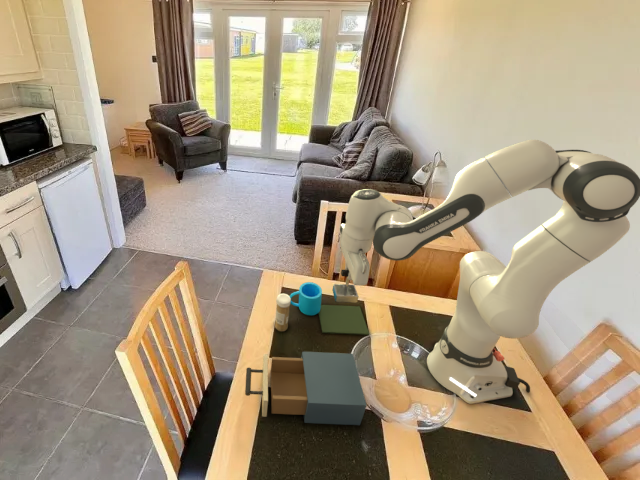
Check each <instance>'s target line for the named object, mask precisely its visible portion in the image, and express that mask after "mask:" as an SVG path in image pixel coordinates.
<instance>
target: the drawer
mask: <svg viewBox="0 0 640 480" xmlns="http://www.w3.org/2000/svg"><path fill="white" fill-rule="evenodd" d="M268 355H269V354H268V353H263V356H262V366H261V367H262V369H256V368H255V369H254V368H252V367H246V371H245V388H244V389H245V390H244V391H245V392H244V395H245V396H247V397H249V396H251V395H259V396H261V398H262V399H261V417H264V418H266V417H268V405H269V367H268V365H269V364H268V363H269V361H268ZM252 373H258V374H261V386H262V387H261V390H252ZM270 399H271V401H270V402H271V405H270V406H271V408H270V409H271V414H273V415H274V414H276V415H294V416H295V415H297V416H304V415H305V413H306V408H307V402H308V400H307V392H306V383H305V375H304V366H303V358H301V357H279V356H272V357H271V364H270Z"/></svg>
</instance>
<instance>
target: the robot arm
mask: <svg viewBox="0 0 640 480" xmlns="http://www.w3.org/2000/svg"><path fill="white" fill-rule="evenodd" d="M537 189H548V190H550V191H551V193H552V194H554V195H555V196H556V197H557V198H559V200H562V205H561V207H560V209H559V210H558V211H557V212H556V213H555V215H553V216H552V217H550V218H548V219H547V220H546V221H544V222H543V223H541V225H539V226H537V227H536V228H535V229H533V230H532V231H530V232H529V233H528V234H526V235H525V236H524V237H523V238H521V239H519V241H517V242H516V243H515V244H514V245H513V246H512V249H511V255H510V259H509V262H508V264H507V265H505V264H504V263H503V262H502V261H501V260H500V259H499V258H498V257H496V256H495V255H493V254H492V253H490V252H488V251H485V250H475V251H471V252H469V253H467V254H465V255H464V256H463V257H462V258H461V259H460V261H459V284H458V288H457V289H458V290H457V296H456V305H455V309H454V313H453V315H452V317H451V320H450V321H449V324H448V325H447V326H446V327H445V329H444V330H443V333H442V335H441V338H440V339H439V341H438V342H436V343H435V344H434V345H433V346H434V347H433V350H432V351H430V353H429V354H428V355H427V358H426V365H427V368H428V370H429V373H430V374H431V375H432V377H433V378H434V379H435V380H436V381H437V382H438V383H439V384H440V385H441V386H442V387H444V388H445V389H446V390H448V391H450V392H452V393H454V394H455V395H457V396H458V397H459V398H460V399H462V401H464V402H465V403H467V404H468V405H469V404H470V405H472V404H473V405H474V404H479V403H484V402H490V401H495V400H499V399H505V398H511V397H512V396H513V393H514V391H513V390H517V388H519V386H520V384H522V385H524V386H525V391H526V393H528V394H530V393H531V386H530V384H529V383H528V382H527V381H525V380H524V379H522V378H520V377H518V374H517V372H516V370H515V368H514V367H510V366H508V365H504V364H503V361H504V360H505V357H504V355H502V353H501V351H499V350H496V348H495V347H496V345H497V343H498V341H499V340H500V338H501V337H502V338H505V339H511V340H518V339H519V340H520V339H524V338H527V337H529V336H531V335H533V334H534V333H535V332H536V331H537V329H538V327H539V324H540V314H541V310H542V308H543V306H544V304H545V302H546V300H547V298H548V297H549V295H551V293H552V291H553V290H554V289H555V288H556V287H557V286H558V285H559V284H560V283H561V282H562V281H564V280H565V279H567V278H568V277H570V276H572V275H573V274H575V273H576V272H577V271H578V270H581V268H583V267H585V266H586V265H588V264H590V263H592V262H593V261H594V260H596V259H598V258H599V257H601V256H602V255H604V254H605V253H606V252H607V251H609V250H610V249H611V248H612V247H613V246H615V245H616V244H617V243H618V242H619V241H620V240H622V238H623V237H625V235H627V233H629V231H630V228H631V224H630V221H629V219H628V217H627V215H628V214H629V213H630V210H631V208H632V207H634V205H635V204H636V203H638V201H639V199H640V177H639V175H638V174H637V172H635V171H634V170H633V169H632V168H631V167H629V166H628V165H626V164H624V163H621V162H619V161H617V160H615V159H613V158H611V157H609V156H607V155H603V154H599V153H593V152H591V151H588V150H583V149H562V150H555V149H554V148H553V147H552V146H551V145H549V144H548V143H547V142H545V141H542V140H539V139H526V140H523V141H520V142H517V143H515V144H510V145H508V146H506V147H503V148H501V149H498V150H495V151H494V152H491V153H489V154H487V155H485V156H484V157H481V158H478V159H476V160H475V161H473V162H471V163H470V164H468V165H466V166H464V168H462V169H461V170H460V171H458V172H457V174H456V175H455V177H454V180H453V182H452V186H451V188H450V191H449V193H448V195H447V197H446V198H445V200H444V201H443V202H442V203H441V204H439V205H437V207H435V208H433V209H431V210H430V211H427V212H426V213H424V214H422V215H420V216H419V217H417V218H414V217H413V213H412V212H411V211H410V209H409V208H408V207H406V206H404V205H403V204H400V203H396V202H393V201H392V200H389V199H388V198H386V197H385V196H383V194H382V193H381V192H380V191H378V190H376V189H372V188H363V189H359V190H356V191H355V192H353V194H352V195H351V196H350V198H349V201H348V204H347V208H346V213H345V223H341V224H340V225H339V232H340V233H339V247H340V250H341V253H342V256H343V258H344V262H345V264H344V265H345V268H344V270H349V273H348V275H347V276H346V278H347V277H348V280H349V281H352V284H353V285H355V286H359V287H361V286H362V287H363V286H364V287H365V286H367V285H368V283H369V282H368V281H369V277H370V270H371V268H370V267H371V266H370V261H369V259H368V257H367V255H366V253H369V252H370V251H371V249H372V247H373V249H374V250H375V252H376V253H377V254H378V255H379V256H381V257H383V258H384V259H386V260H389V261H395V262H400V261H405V260H408V259H410V258H412V257H413V256H414V255H415V254H416V253H417V252H418V251H419V250H420V249H422V247H424V246H426V245H428V244H429V243H431V242H434V241H435V240H437V239H439V238H442V237H443V236H446V235H448V234H450V233H451V232H453V231H455V230H457V229H459V228H462V227H463V226H465V225H467V224H469V223H470V222H472V221H473V220H476V219H477V218H478V217H479V216H481V215H482V214H483V213H484V212H486V211H487V210H489V209H491V208H493V207H494V206H497V205H499V204H501V203H502V202H505V201H507V200H510V199H512V198H514V197H516V196H519V195H521V194H524V193H525V192H527V191H532V190H537Z"/></svg>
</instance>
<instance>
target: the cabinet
mask: <svg viewBox="0 0 640 480" xmlns="http://www.w3.org/2000/svg"><path fill="white" fill-rule="evenodd" d="M300 358H303V366H304V375H305V383H306V392H307V400H308V402H307V408H306V413H305V415H303V421H304V424H319V425H321V424H322V425H344V426H345V425H346V426H361V423H362V421H363V418H364V414H365V411H366V408H367V405H368V404H367V401H366V398H365V394H364V391H363V390H364V389H363V387H362V383H361V380H360V376H359V372H358V369H357V364H356V361H355V357H354V354H353V353H345V352H344V353H343V352H342V353H340V352H320V351H319V352H318V351H302V352H301V357H300Z"/></svg>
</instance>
